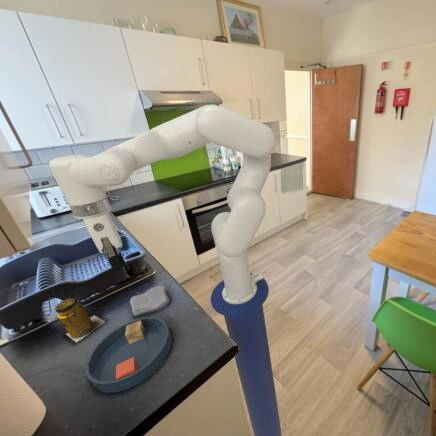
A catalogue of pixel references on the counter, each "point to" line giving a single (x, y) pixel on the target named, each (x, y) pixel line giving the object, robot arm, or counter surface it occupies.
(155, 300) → the stone block
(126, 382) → the bowl
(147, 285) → the counter surface
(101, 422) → the counter surface
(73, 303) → the condiment
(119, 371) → the coral block
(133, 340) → the maple block
